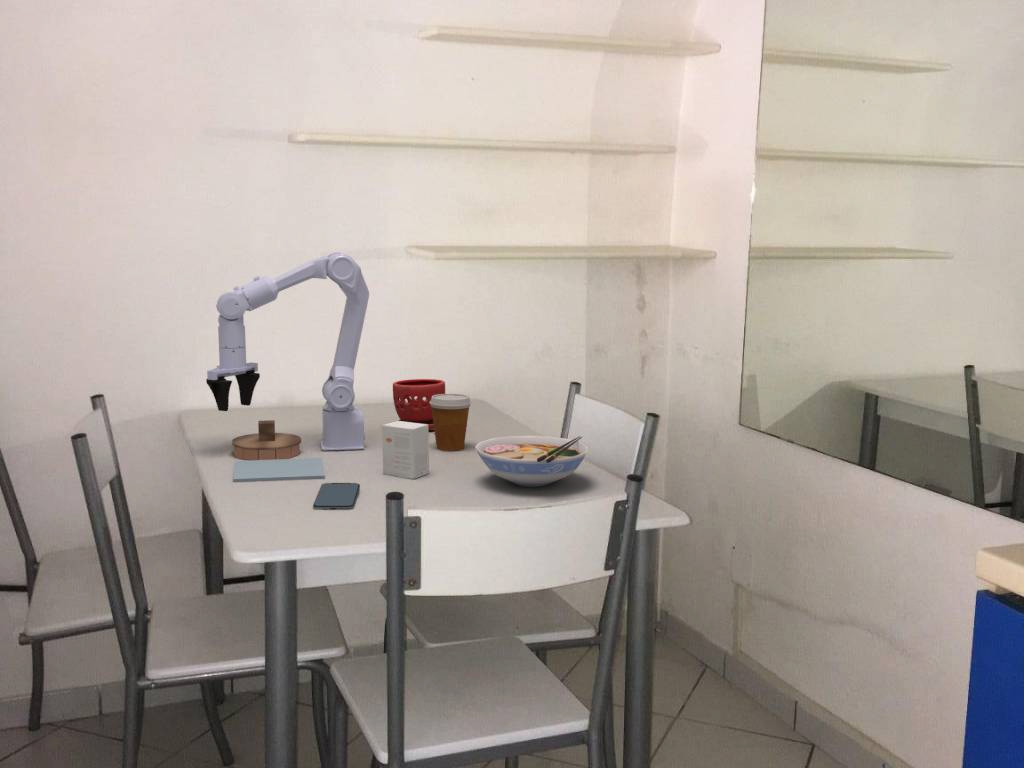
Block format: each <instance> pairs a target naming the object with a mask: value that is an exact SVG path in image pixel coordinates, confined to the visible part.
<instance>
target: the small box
mask: <svg viewBox="0 0 1024 768" xmlns="http://www.w3.org/2000/svg"><path fill="white" fill-rule="evenodd" d="M381 427H382V428H381V429H382V436H381V437H382V475H387V476H393V477H399V478H405V479H412V480H416V479H418V478H420V477H423V476H425V475H428V474H430V452H429V451H430V448H429V447H430V446H429V445H430V444H429V442H430V441H429V435H430V434H429V431H428V424H420V423H412V422H404V421H398V420H395V421H393V422H389V423H385V424H384V423H383V424H382V426H381Z"/></svg>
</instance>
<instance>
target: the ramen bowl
mask: <svg viewBox="0 0 1024 768" xmlns="http://www.w3.org/2000/svg"><path fill="white" fill-rule="evenodd" d="M580 439H583V436H579V435H578V436H577V437H575V438H574V439H570V438H563V437H556V436H551V435H549V436H548V435H546V436H544V435H507V436H499V437H491V438H489V439H486V440H485V439H484V440H482V441H479V442H477V444H476V445H475V446H474V447H475V450H476V452H477V454H478V456H479V457H480V459H481V461H482V462H483V463H484V465H485V466H486V467H487V468H488V469H489V471H490V472H491V473H493V474H494V475H496V476H497V477H499V478H501V479H504V480H506V481H510V482H512V483H513V484H514V485H517V486H520V487H526V488H536V487H539V488H540V487H545V486H548V485H549V484H551V483H554V482H556V481H559V480H562V479H564V478H566V477H568V476H570V475H572V474H573V473H574V472H575V471H576V470H577V469H578V468H579V466H580V465H581V464H582V462H583V460H584V458H585V457H586V455H587V453H588V450H589V446H587V445H586V444H585V443H583V442H580Z"/></svg>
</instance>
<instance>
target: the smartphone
mask: <svg viewBox="0 0 1024 768" xmlns="http://www.w3.org/2000/svg"><path fill="white" fill-rule="evenodd" d="M360 489H361V485H360V483H357V482H325V483H322V484H321V485H320V488H319V490H318V493H317V495H316V497H315V499H314V501H313V505H312V509H313V510H316V511H338V510H339V511H350V510H354V509H355V507H356V504H357V501H358V497H359V495H360Z"/></svg>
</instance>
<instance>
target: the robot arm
mask: <svg viewBox="0 0 1024 768" xmlns="http://www.w3.org/2000/svg"><path fill="white" fill-rule="evenodd" d="M328 278H329V279H330V280H331V281H332V282H334V283H335V284H337V286H338V287H339V289H340V290H341V291H342V293H343V294H344V296H345V297H346V299H345V305H344V309H343V313H342V315H343V316H342V320H341V325H340V328H339V333H338V338H337V344H336V348H335V354H334V358H333V363H332V366H331V369H330V371H329V375H328V378H327V379H326V380H325V382H324V384H322V389H321V393H322V396H323V399H325V404H323V406H322V441H320V447H321V450H322V451H325V452H326V451H345V450H346V451H348V450H349V451H350V450H353V451H354V450H364V449H365V441H366V436H365V435H366V433H365V418H364V417H365V415H364V409H363V408H355V405H354V401H355V398H356V395H355V394H356V393H355V389H354V382H355V367H356V366H355V365H356V360H357V356H358V352H359V346H360V343H361V342H360V341H361V337H362V332H363V327H364V323H365V317H366V312H367V310H368V309H367V308H368V302H369V298H370V290H369V289H368V286H367V282H366V281H365V277H364V275H363V273H362V268H361V266H359V264H358V263H357V261H355V259H353V257H352V256H351V255H349V254H346V253H345V254H344V253H341V252H332V253H329V255H327V256H325V255H324V256H320V257H317V258H314V259H312V260H309V261H307V262H304V263H303V264H301V265H299V266H296V267H295V268H293V269H291V270H288V271H286V272H284V273H282V274H280V275H277V276H276V277H274V278H271V277H270V276H269V277H268V276H266V275H263V276H262V277H260V276H259V275H256V276H255V277H253V280H252V281H250V282H248V283H246V284H244V285H241V286H239V287H238V285H236V286H234V287H233V290H234V291H227V292H223V293H222V294H221V295H220V296H219V297H218V299H217V301H216V304H215V305H216V310H217V312H218V313H219V315H218V318H217V322H218V326H217V331H218V337H217V338H218V354H219V355H218V356H219V357H218V358H219V365H216V367H215V368H213V369H209V370H206V371H207V372H206V375H207V377H206V384H207V385H208V387H209V390H211V393H212V395H213V397H214V400H215V403H216V407H217V409H218V412H219V411H221V412H227V411H228V410H229V403H230V402H229V397H230V391H231V390H230V389H231V386H232V384H233V380H229V379H227V378H229V377H233V376H234V377H235V380H236V381H237V386H238V392H239V401H240V404H241V405H242V406H247V407H248V406H249V407H250V406H251V404H252V399H253V395H254V391H255V387H256V386H257V383H258V381H259V379H260V378H261V374H260V372H259V366H258V365H259V363H258V362H247V347H246V346H247V345H246V325H245V324H244V323H245V321H244V315H245V312H246V311H247V312H251V311H254V310H257V309H258V308H260V307H263V306H265V305H268V304H269V303H272V302H274V301H276V300H277V298H278V295H279V293H280V292H281V291H285V290H287V289H289V288H291V287H293V286H296V285H299V284H301V283H303V282H305V281H308V280H311V279H321V280H328Z"/></svg>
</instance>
